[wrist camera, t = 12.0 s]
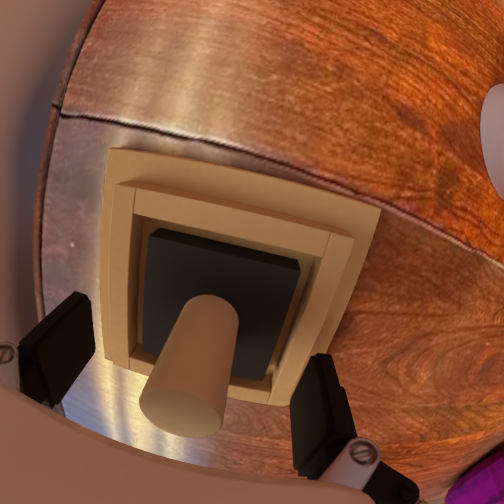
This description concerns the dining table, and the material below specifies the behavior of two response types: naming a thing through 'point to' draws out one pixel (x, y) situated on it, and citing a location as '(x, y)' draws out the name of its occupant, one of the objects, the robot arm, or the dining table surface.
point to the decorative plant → (480, 483)
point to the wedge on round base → (494, 136)
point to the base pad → (237, 233)
